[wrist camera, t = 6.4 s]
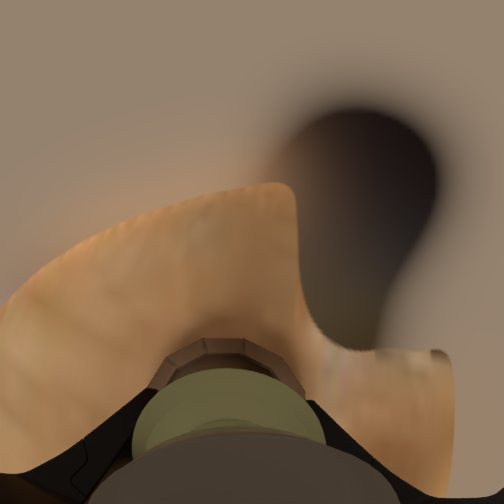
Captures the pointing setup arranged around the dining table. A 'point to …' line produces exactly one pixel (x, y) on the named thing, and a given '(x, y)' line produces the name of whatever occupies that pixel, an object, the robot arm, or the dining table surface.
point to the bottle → (237, 449)
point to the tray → (224, 362)
